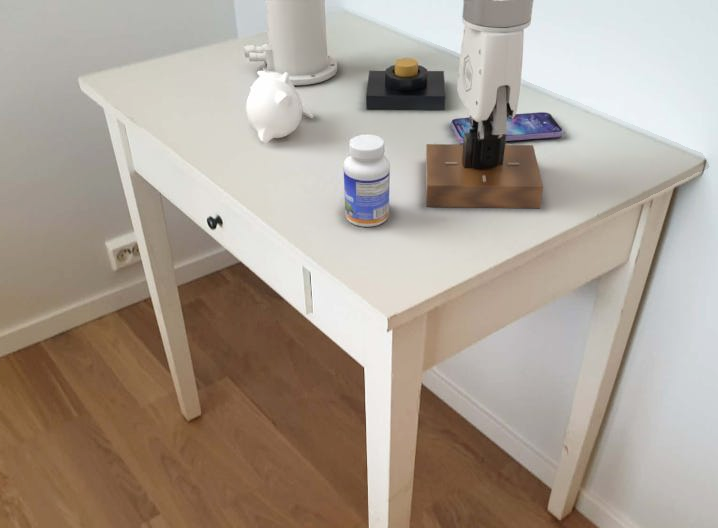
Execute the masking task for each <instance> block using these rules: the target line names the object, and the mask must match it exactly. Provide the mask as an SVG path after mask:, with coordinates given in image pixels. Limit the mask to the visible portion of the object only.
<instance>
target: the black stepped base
mask: <svg viewBox="0 0 718 528" xmlns="http://www.w3.org/2000/svg"><path fill="white" fill-rule="evenodd" d="M445 84H446V83H445V71H444V70H428V69H427V68H426V67H424V66H423V65H420V64H418V74H417V75H415V76H410V77H402V76H397V75H395V64H392V65H390V66H388V67H387V68H385V70H369V71H368V80H367V87H366V93H365V103H366V104H365V110H366V111H368V110H369V111H371V110H373V111H375V110H377V111H378V110H379V111H381V110H383V111H387V110H389V111H393V110H394V111H399V110H400V111H445V109H446V85H445Z"/></svg>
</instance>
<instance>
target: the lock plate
mask: <svg viewBox="0 0 718 528" xmlns="http://www.w3.org/2000/svg"><path fill="white" fill-rule="evenodd" d="M462 154H463V143H460V144H455V143H453V144H449V143H445V144H444V143H441V144H440V143H427V144H426V147H425V206H426V207H427V208H486V209H487V208H489V209H490V208H491V209H494V208H495V209H497V208H498V209H540V208H541V205H542V197H543V191H544V183H543V180H542V175H541V172H540V168H539V164H538V159H537V155H536V152H535V147H534V145H533V144H505V151H504V159H503V165H497V166H496V167H491V168H480V169H474V168H473V167H470V168H464V166H463V164H462Z"/></svg>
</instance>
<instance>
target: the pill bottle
mask: <svg viewBox="0 0 718 528" xmlns="http://www.w3.org/2000/svg"><path fill="white" fill-rule="evenodd" d="M348 146H349V147H348V153H349V155H348V156H347V157H346V158H345V160H344V162H343V185H344V186H343V189H344V192H343V193H344V214H345V218H346V220H347V221H348V222H349V223H350V224H352V225H354V226H358V227H363V228H364V227H365V228H366V227H367V228H370V227H376V226H380V225H382V224H383V223H385V222H386V221H387V220H388V218H389V217H390V179H391V178H390V176H391V164H390V160H389V158H388V157H387V156H386V155H385V141H384V139H383V138H382V137H381V136H378V135H375V134H359V135H355V136H353V137H352V138H351V139H350V140H349V143H348Z"/></svg>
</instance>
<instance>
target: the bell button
mask: <svg viewBox="0 0 718 528" xmlns="http://www.w3.org/2000/svg"><path fill="white" fill-rule="evenodd" d="M394 65H395V75H397V76H402V77H410V76H415V75H417V74H418V65H419V60H417V59H415V58H412V57H411V58H410V57H404V58H398V59H396V60H395V61H394Z"/></svg>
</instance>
